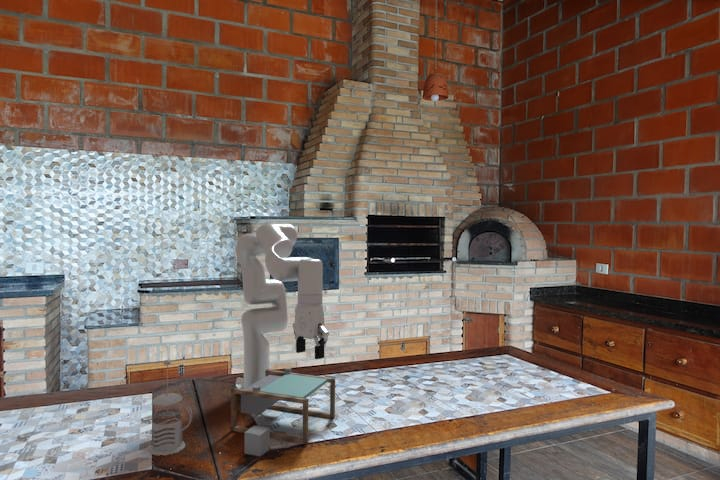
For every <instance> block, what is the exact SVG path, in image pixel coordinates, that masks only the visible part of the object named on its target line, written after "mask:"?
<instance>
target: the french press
mask: <svg viewBox="0 0 720 480" xmlns="http://www.w3.org/2000/svg"><path fill="white" fill-rule="evenodd" d="M171 363H172V362H171V360H169V359H166V360H164V361H163V365H165V366H166V392H165V393H161V394H159V395H157V396H155V398H152V399H151V400H152V401H151V403H152V405H153V406H156V407H166V409H161V410H158V411H156V412H155V413H154V414H153V418H152V441H151V442H152V445H151V446H150V447H149V448H148V453H149V454H151V455H154V456H160V455H163V456H170V455H174V454H177V453H178V452H181V451H183V450H184V449H185V447H186V442H184V440H183V431H185V430H186V429H187V428H188V427H189V426H190V424H191V422H192V419H193V410H192V408H191V406H189V404H187V403H185V402H182V400H183V396H182V395H180V394H178V393H176V392H175V393H174V392H169V390H168V389H169V388H168V387H169V384H168V382H169V381H168V380H169V371H168V369H169V368H168V367H169V366H168V365H171ZM180 402H182V403H181V404H180V406H179V409H177V408H168V407H169V406H175V405H177V404H179V403H180ZM186 406H187V407H186ZM183 408H185V409H186V410H187V411H188V415H189V421H188V424H186V425H185V426H184V427H183V423H182V422H183V416H182V415H181V413H182V411H181V410H182V409H183ZM176 418H177V419H176ZM166 421H167V422H166ZM164 422H165V423H164ZM180 450H181V451H180ZM173 453H174V454H173ZM169 454H170V455H169Z"/></svg>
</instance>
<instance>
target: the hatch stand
mask: <svg viewBox="0 0 720 480" xmlns="http://www.w3.org/2000/svg"><path fill="white" fill-rule="evenodd" d="M292 371H293V370H292V367H285V369H284V371H281V370H274V369H269V370H265V377H266V376H268V375H275V376H284V375H286V374H293V375H300V376H308V377H315V378H323V379H327V383H329V385H330V387H329V388H330V389H329V393H330V394H329V400H330V401H329V412H325V411H319V410H313V409H309V398H299V397H293V396H286V395H279V394H273V393H266V392H260V386H254V387H253V390H246V389H240V388H241V387H239V388H238V387H232V388H231V389H230V431H231V430H232V431H231V432H236V431H237V433H242V434H245V432H246V431H247V430H248V429H250V428H251V427H245V426H240V425H238V424H237V423H238V422H237V418H238V417H237V416H238V415H237V410H238V408H237V407H238V406H237V404H238V403H237V402H238V401H237V398H238V397H237V396H238V395H241V394H243V395H249V396H256V397H262V398H269V399H275V400H279V401H281V402H290V403H295V404H302V407H295V406H288V405H283V404H277V403H275V404H273V405H272V406H270V407H269V408H268V409H272V410H273V409H274V410H276V411H277V410H279V411H284V412H289V413H291V412H292V413H296V414H302V437H301V436H295V435H294V436H293V435H288V434H284V433H283V434H282V433H279V432H278V433H277V432H271V431H270V439H273V440H278V441H279V440H280V441H284V442H290V443H295V444H301V445H305V446H306V445H308V444H309V416H314V417H321V418H328V419H335V418H336V413H335V412H336V377H335V378H333V377H326V376H319V375H311V374H305V373H304V374H303V373H297V372H296V373H295V372H292Z"/></svg>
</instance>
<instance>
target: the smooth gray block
mask: <svg viewBox="0 0 720 480" xmlns="http://www.w3.org/2000/svg"><path fill="white" fill-rule="evenodd" d="M249 428H250V429H248V430H247V431H246V432H245V433H244V450H243V451H244V454H245V455H249V456H255V457H259V458H260V457H262V456H263V455H264V454H265V453H267V452H268V451H269V450H271V449H270V447H271V446H270V443H271V442H270V441H271V440H270V439H271V438H270V432H271V431H270V430H271V428H270V427H266V426H262V425H261V426H260V425H253V426H251V427H249Z"/></svg>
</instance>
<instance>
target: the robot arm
mask: <svg viewBox="0 0 720 480" xmlns="http://www.w3.org/2000/svg"><path fill="white" fill-rule="evenodd" d="M297 239H298V233H297V229H296V228H295V227H294V226H293V225H292V224H290V223H279V222H278V223H273V222H270V223H269V222H268V223H264V224H261V225H259V227H257V229H256V231H255V233H245V234H241V235H240V236H239V237H238V239H237V240H236V245H235V248H236V249H235V250H236V255H237V258H238V262H239V264H240V267H241V272H242V273H241V277H242V291H243V299H244V302H245V303H246V304H247V305H250V306H252V305H253V306H256V305H259V306H260V305H268V304H269V305H270V304H271V307H270V306H268V307H258V308H250V309H247V310H246V311H244V313H242V315H241V321H240V322H241V328H242V334H243V336H242V337H243V377H237V378H236V380H235V385H239V386H240V387H239V388H240V389H245V388H247V387H248V386H250V385H252V384H254V383H256V382H257V381H259V380H261V379H263V378H264V377H265V370H270V343H269V340H267V338H265V336H264V334H269V333H275V332H281V331H284V330H285V329H286V328H287V327H288V326H287V325H288V322H289V319H288V307H287V306H288V303H287V292H286V287H285V285H284V283H286V282H297V303H296V306H295V311H294V312H295V314H294V322H293V323H292V328H293V334H294V339H295V353H297V354H300V353H304V352H306V351H307V350H306V347H307V346H306V345H307V344H306V342H307V340H306V339H310V340H312V339H313V340H314V343H315V345H314V359H315V360H321V359H324V358H325V345H327V344H326V343H327V341H328V338H329V335H330V332H329V331H328V329H327V328H326V327H325V314H324V313H325V312H324V306H323V286H324V285H323V276H324V275H323V274H324V273H323V269H324V268H323V261H322V260H321V259H318V258H312V257H310V256H309V257H307V256H296V257H295V256H291V257H290V255H291V254H292V252H293V246H295V244H296V242H297ZM262 256H263V257H265V258H264V261H265V262H264V263H265V266H264V264H263V263H262V261H261V260H260V259H259V258H258V257H262ZM265 268H266V270H267V272H268V273H269V275H270V276H271V277H272V278H268V279H267V278H266V273H265V272H266V270H265Z"/></svg>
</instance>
